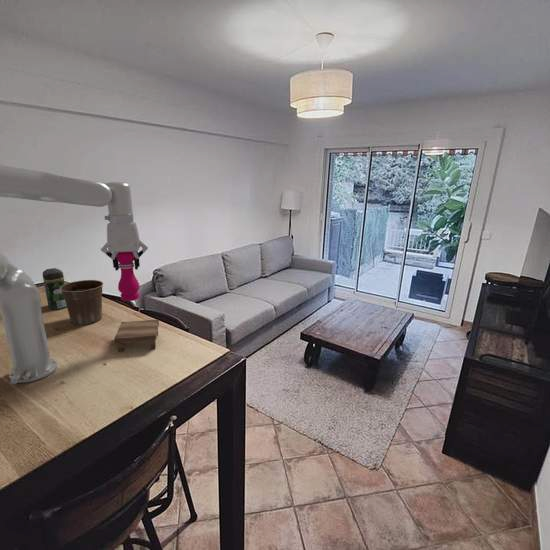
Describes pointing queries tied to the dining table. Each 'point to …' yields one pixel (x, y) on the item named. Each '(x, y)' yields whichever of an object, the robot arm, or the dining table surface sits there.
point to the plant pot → (83, 301)
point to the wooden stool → (137, 333)
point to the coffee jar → (54, 288)
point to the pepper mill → (127, 277)
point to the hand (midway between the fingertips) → (127, 268)
